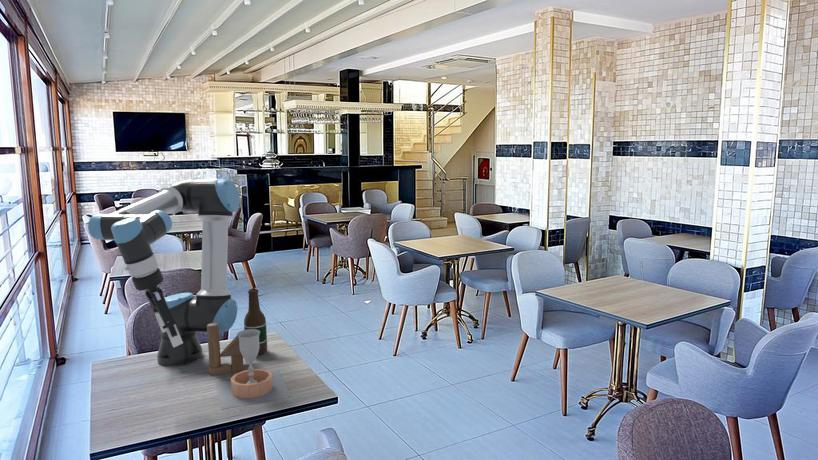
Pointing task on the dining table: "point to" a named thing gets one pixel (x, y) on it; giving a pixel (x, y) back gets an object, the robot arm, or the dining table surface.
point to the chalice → (249, 348)
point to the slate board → (232, 401)
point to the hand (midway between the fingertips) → (172, 337)
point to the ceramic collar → (253, 389)
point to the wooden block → (223, 353)
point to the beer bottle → (256, 320)
